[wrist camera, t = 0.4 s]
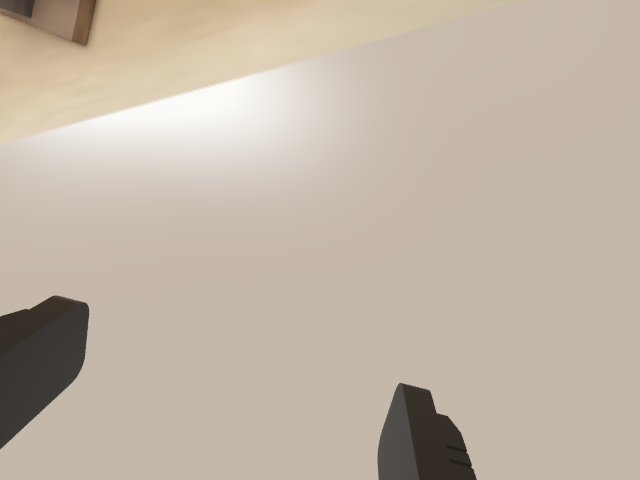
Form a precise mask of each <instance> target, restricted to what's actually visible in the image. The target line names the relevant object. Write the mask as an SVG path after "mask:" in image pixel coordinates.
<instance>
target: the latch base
mask: <svg viewBox="0 0 640 480" xmlns="http://www.w3.org/2000/svg"><path fill="white" fill-rule="evenodd" d="M95 2H96V0H0V13H2V14H5V15H7V16H10V17H12V18H15V19H17V20H20V21H22V22H25V23H27V24H30V25H32V26H35V27H37V28H40V29H42V30H45V31H47V32H50V33H52V34H55V35H57V36H60V37H62V38H65V39H67V40H70V41H72V42H76V43H79V44H82V45H86V43H87V38H88V34H89V29H90V25H91V20H92V16H93V11H94V7H95Z"/></svg>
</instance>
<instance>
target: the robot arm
mask: <svg viewBox="0 0 640 480" xmlns="http://www.w3.org/2000/svg"><path fill="white" fill-rule="evenodd" d="M88 319H89V307H88V305H87V304H86V303H84V302H80V301H77V300H73V299H68V298H65V297H61V296H52V297H50V298H48V299H47V300H45V301H43V302H42V303H40V304H38V305H36V306H35V307H33V308H31V309H30V310H28V309H24V310H21V311H18V312H14V313H11V314H7V315H3V316H1V317H0V449H1V448H2V447H3V446H4V445H5V444H6V443H7V442H9V441H10V440H11V439H12V438H13V437H14V436H15V435H16V434H17V433H18V432H19V431H20V430H22V429H23V428H24V427H25V426H26V425H27V424H28V423H29V422H30V421H31V420H32V419H33V418H34V417H36V416H37V415H38V414H39V413H40V412H41V411H42V410H43V409H44V408H45V407H46V406H47V405H48V404H50V403H51V402H52V401H53V400H54V399H55V398H56V397H57V396H58V395H59V394H60V393H61V392H63V391H64V390H65V389H66V388H67V387H68V386H69V385H70V384H71V383H72V382H73V381H74V380H75V379H76V377H77V376H78V374H79V372H80V370H81V368H82V366H83V362H84V359H85V349H86V340H87V330H88ZM466 452H467V449H466V446H465V443H464V440H463V437H462V435H461V432H460V431H459V430H458V429H457V427H456V426H455V425H454V424H453V422H452V421H451V420H450V419H449V418H448V416H445V415H441V414H437V413H436V410H435V406H434V402H433V399H432V396H431V392H430V391H429V390H426V389H422V388H419V387H415V386H411V385H406V384H403V383H399V384H398V386H397V388H396V391H395V394H394V396H393V400H392V402H391V406H390V409H389V412H388V415H387V418H386V421H385V424H384V427H383V430H382V433H381V437H380V441H379V447H378V474H379V480H477V479H476V476H475V473H474V470H473V469H472V468H471V466H472V464H471V461H470V458H469V455H468V454H467V453H466Z"/></svg>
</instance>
